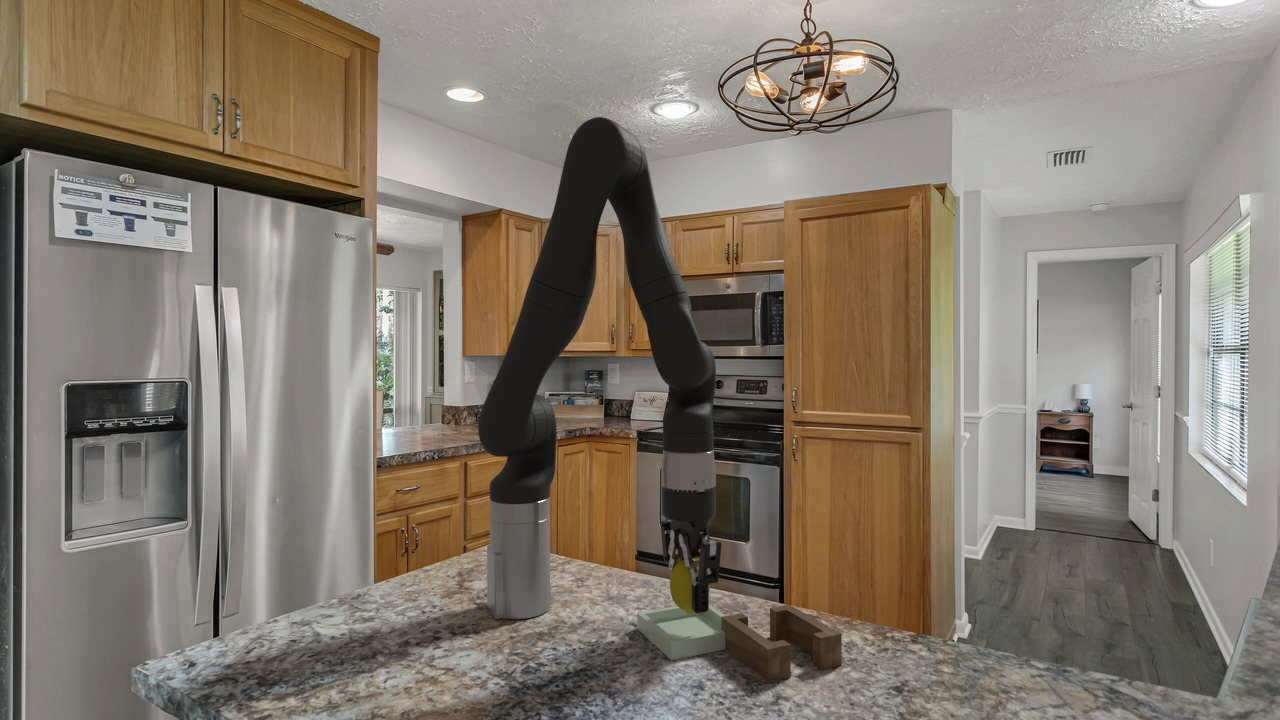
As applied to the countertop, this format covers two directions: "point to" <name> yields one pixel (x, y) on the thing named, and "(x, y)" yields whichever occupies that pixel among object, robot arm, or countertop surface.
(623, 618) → the countertop surface
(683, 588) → the lemon
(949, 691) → the countertop surface
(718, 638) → the dish
